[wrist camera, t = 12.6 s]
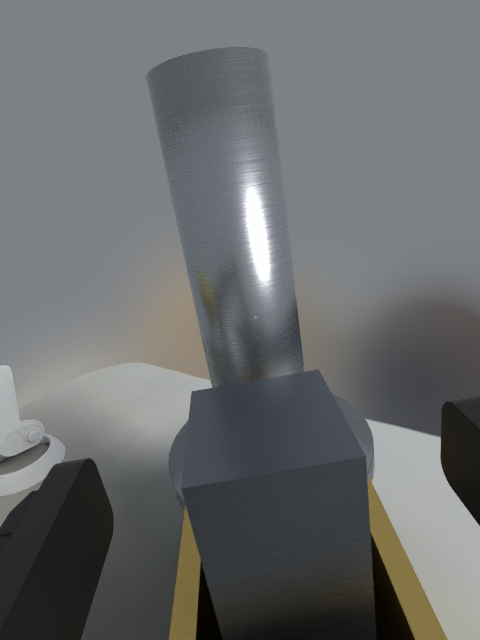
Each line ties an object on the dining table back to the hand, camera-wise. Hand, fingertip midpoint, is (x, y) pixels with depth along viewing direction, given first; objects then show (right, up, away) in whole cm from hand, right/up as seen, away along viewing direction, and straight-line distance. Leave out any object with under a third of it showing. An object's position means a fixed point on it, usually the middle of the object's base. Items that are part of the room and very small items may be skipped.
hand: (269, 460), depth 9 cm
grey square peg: (+2, -14, +7) cm, 16 cm away
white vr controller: (-22, -12, +29) cm, 38 cm away
